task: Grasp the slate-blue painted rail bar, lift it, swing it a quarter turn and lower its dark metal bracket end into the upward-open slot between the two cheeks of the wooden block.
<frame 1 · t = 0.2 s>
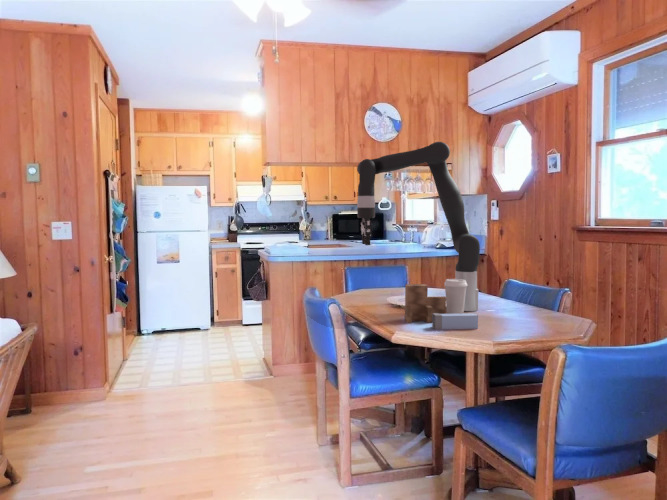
hand: (366, 244, 214), 29 cm above the table, fingers open, 8 cm apart
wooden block: (417, 320, 197), on the table
rail: (454, 328, 185), on the table
coffee cup: (455, 316, 206), on the table
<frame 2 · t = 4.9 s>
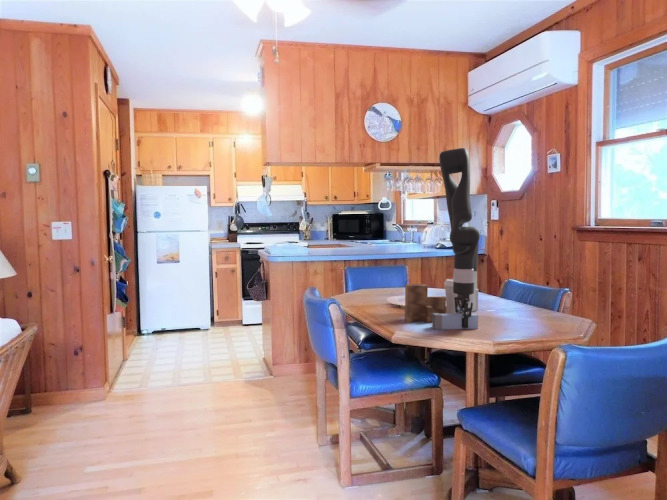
hand: (462, 326, 185), 1 cm above the table, fingers closed on rail, 4 cm apart
rail: (454, 327, 185), on the table, touching gripper
everything else where it was.
when the fingers open (2 cm above the table, at t = 10.3 s): rail drops 1 cm, on the table.
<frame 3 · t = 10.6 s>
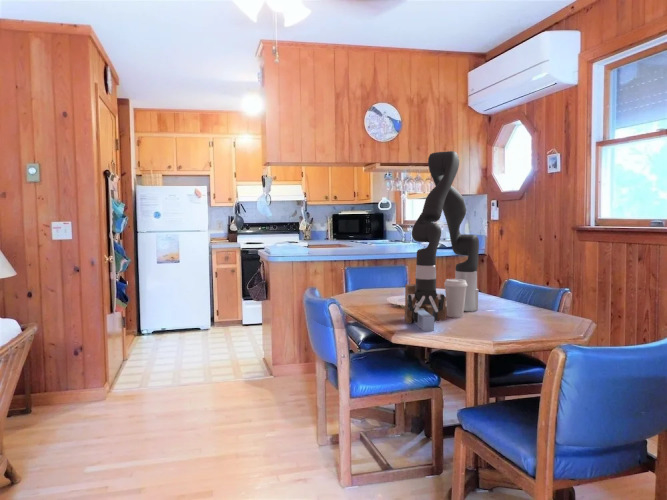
hand: (425, 321, 185), 2 cm above the table, fingers open, 6 cm apart
rail: (423, 326, 188), on the table
everything else where it was.
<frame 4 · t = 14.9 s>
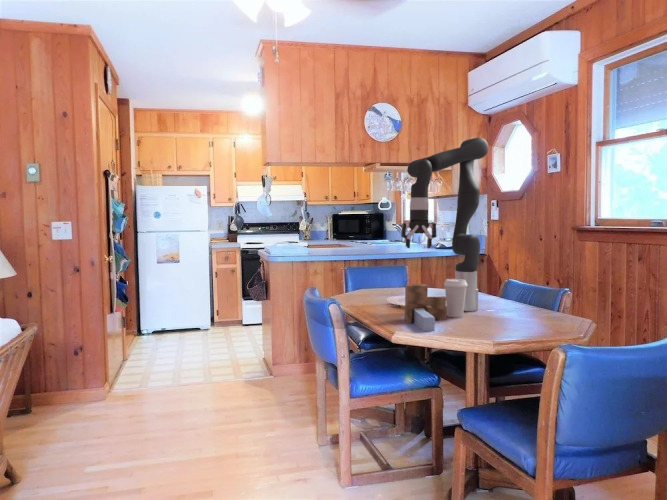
hand: (418, 248, 206), 28 cm above the table, fingers open, 8 cm apart
nothing on the table moved.
at the end: rail 0.1 cm from the target spot on the table beside the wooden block, on the table; rail tilted 0°; the gripper is holding nothing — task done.
